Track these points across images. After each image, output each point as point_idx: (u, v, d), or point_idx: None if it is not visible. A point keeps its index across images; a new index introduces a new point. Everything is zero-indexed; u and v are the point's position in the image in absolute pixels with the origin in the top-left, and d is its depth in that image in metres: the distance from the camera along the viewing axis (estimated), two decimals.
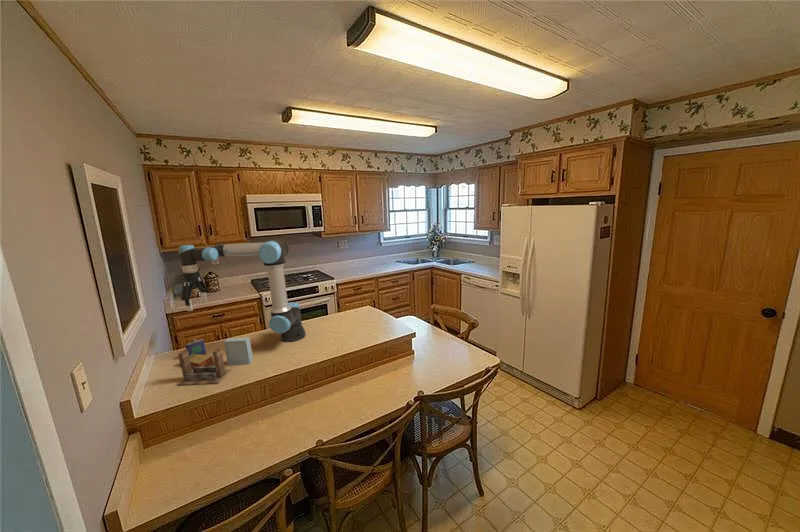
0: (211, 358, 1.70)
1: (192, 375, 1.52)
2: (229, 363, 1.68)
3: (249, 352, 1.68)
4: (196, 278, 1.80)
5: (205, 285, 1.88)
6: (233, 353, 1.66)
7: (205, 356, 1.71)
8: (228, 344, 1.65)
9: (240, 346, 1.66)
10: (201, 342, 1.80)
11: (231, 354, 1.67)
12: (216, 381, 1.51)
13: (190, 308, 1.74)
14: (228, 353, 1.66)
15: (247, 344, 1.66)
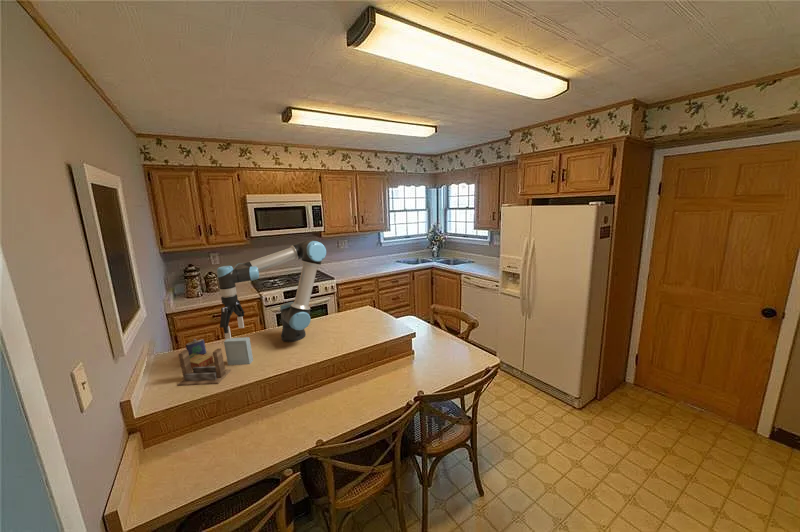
0: (211, 358, 1.70)
1: (192, 375, 1.52)
2: (229, 363, 1.68)
3: (249, 352, 1.68)
4: None
5: None
6: (233, 353, 1.66)
7: (205, 356, 1.71)
8: (228, 344, 1.65)
9: (240, 346, 1.66)
10: (201, 342, 1.80)
11: (231, 354, 1.67)
12: (216, 381, 1.51)
13: (228, 336, 1.59)
14: (228, 353, 1.66)
15: (247, 344, 1.66)
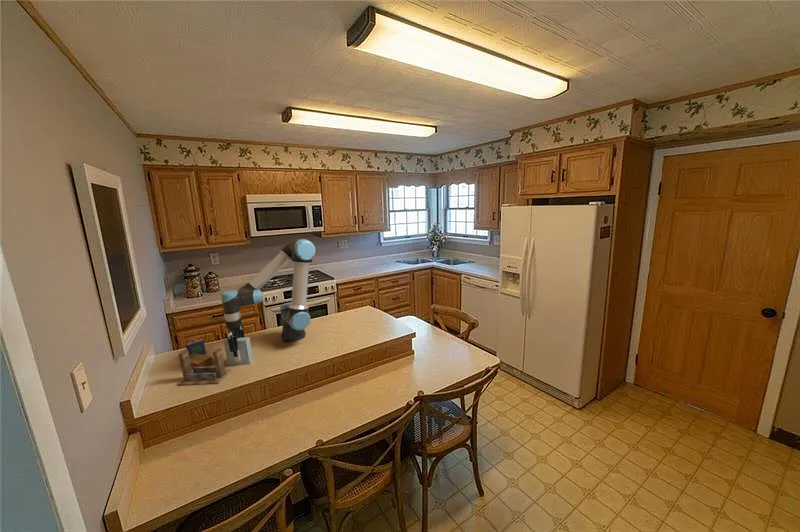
0: (211, 358, 1.70)
1: (192, 375, 1.52)
2: (229, 363, 1.68)
3: (249, 352, 1.68)
4: None
5: None
6: None
7: (205, 356, 1.71)
8: (228, 344, 1.65)
9: (240, 346, 1.66)
10: (201, 342, 1.80)
11: (231, 354, 1.67)
12: (216, 381, 1.51)
13: (238, 359, 1.66)
14: (228, 353, 1.66)
15: (247, 344, 1.66)
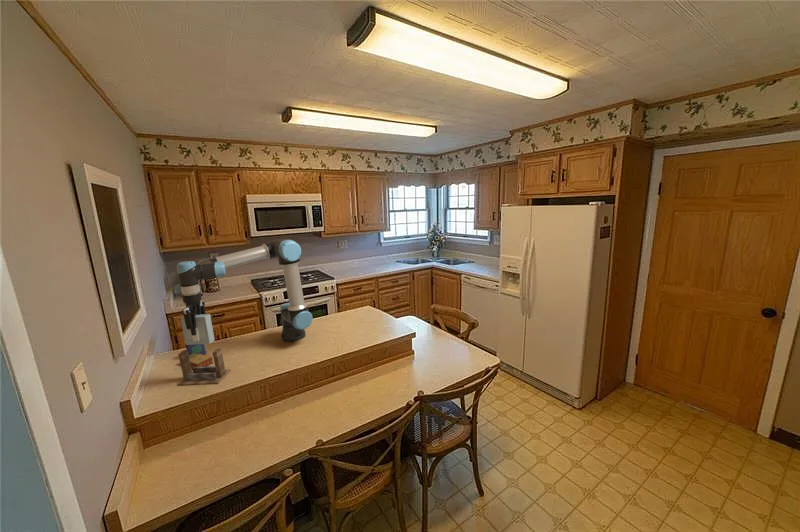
0: (210, 359, 1.70)
1: (192, 375, 1.52)
2: (187, 342, 1.51)
3: (209, 330, 1.51)
4: None
5: None
6: None
7: (205, 356, 1.71)
8: None
9: (199, 323, 1.49)
10: None
11: (189, 333, 1.50)
12: (216, 381, 1.51)
13: (196, 338, 1.50)
14: (186, 331, 1.50)
15: (206, 321, 1.49)
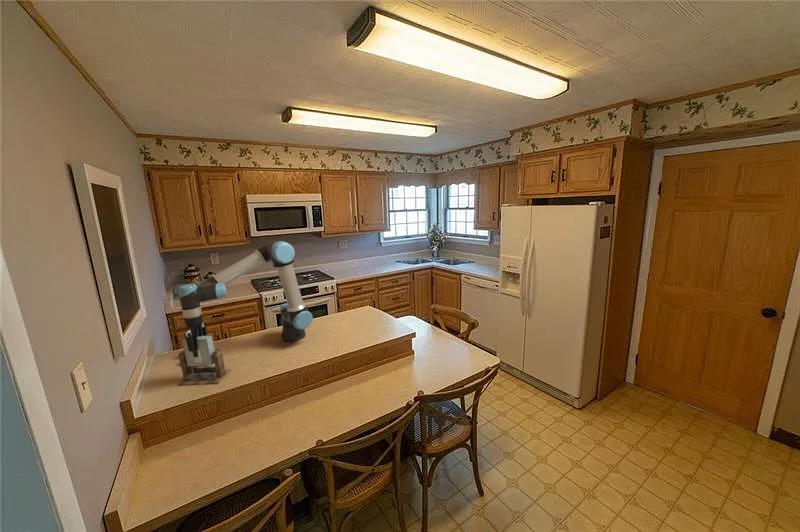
0: None
1: (192, 375, 1.52)
2: (189, 364, 1.52)
3: (211, 352, 1.53)
4: None
5: None
6: None
7: None
8: None
9: (200, 345, 1.50)
10: None
11: (191, 354, 1.51)
12: (216, 381, 1.51)
13: (199, 359, 1.51)
14: (188, 352, 1.51)
15: (208, 343, 1.51)
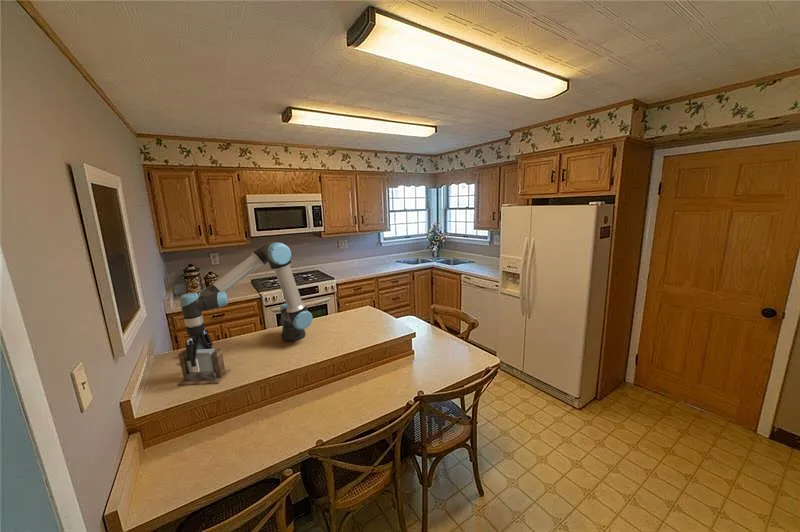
0: None
1: (192, 375, 1.52)
2: None
3: (214, 365, 1.54)
4: None
5: (210, 339, 1.60)
6: None
7: None
8: None
9: (203, 358, 1.52)
10: None
11: None
12: (216, 381, 1.51)
13: (196, 369, 1.49)
14: (191, 366, 1.53)
15: (211, 357, 1.52)
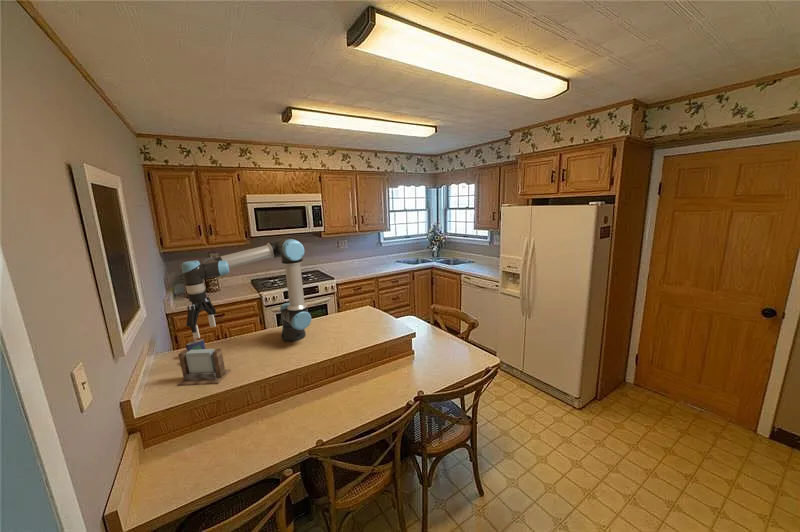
0: None
1: (192, 375, 1.52)
2: None
3: (214, 365, 1.54)
4: None
5: (213, 306, 1.62)
6: (196, 366, 1.53)
7: None
8: (190, 356, 1.52)
9: (203, 358, 1.52)
10: (201, 342, 1.80)
11: (194, 368, 1.53)
12: (216, 381, 1.51)
13: (197, 335, 1.48)
14: (191, 366, 1.53)
15: (211, 357, 1.52)
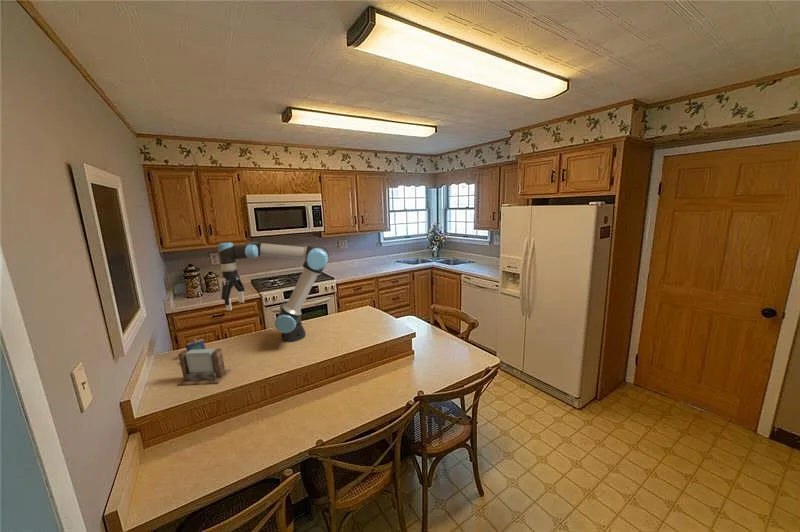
0: None
1: (192, 375, 1.52)
2: None
3: (214, 365, 1.54)
4: (234, 277, 1.75)
5: (242, 284, 1.83)
6: (196, 366, 1.53)
7: None
8: (190, 356, 1.52)
9: (203, 358, 1.52)
10: (201, 342, 1.80)
11: (194, 368, 1.53)
12: (216, 381, 1.51)
13: (229, 307, 1.69)
14: (191, 366, 1.53)
15: (211, 357, 1.52)
